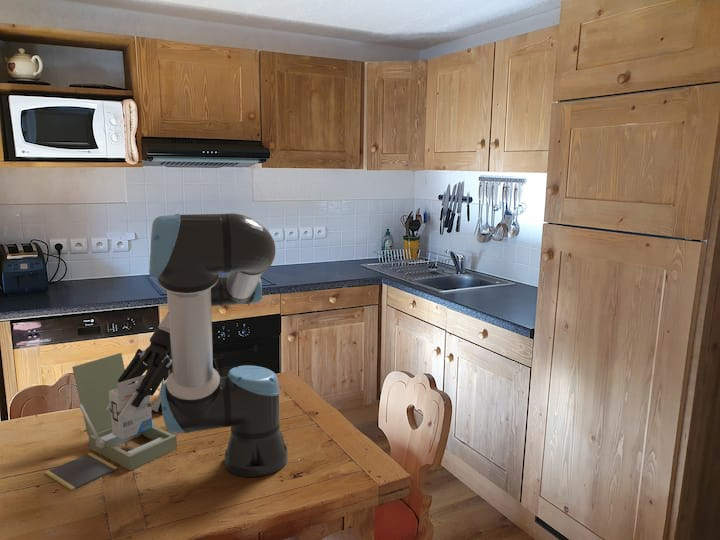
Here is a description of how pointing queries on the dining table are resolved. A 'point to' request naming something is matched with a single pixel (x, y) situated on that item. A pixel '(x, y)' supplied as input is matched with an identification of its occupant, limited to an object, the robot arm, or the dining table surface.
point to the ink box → (141, 415)
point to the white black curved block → (157, 404)
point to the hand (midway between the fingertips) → (117, 414)
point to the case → (95, 399)
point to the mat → (81, 471)
